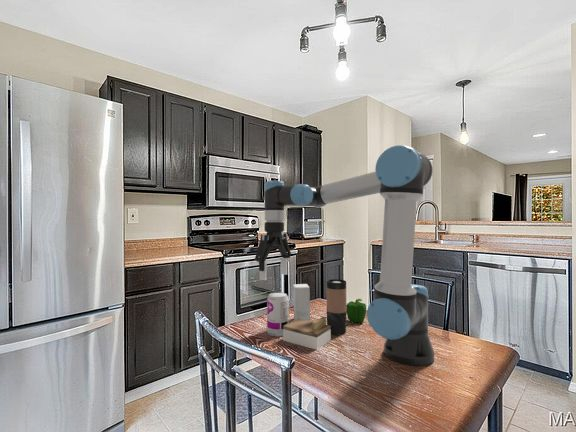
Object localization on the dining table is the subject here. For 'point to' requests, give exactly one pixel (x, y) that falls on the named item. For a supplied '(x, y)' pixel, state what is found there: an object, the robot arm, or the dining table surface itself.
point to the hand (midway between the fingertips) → (274, 277)
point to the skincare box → (301, 301)
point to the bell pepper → (356, 311)
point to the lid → (308, 326)
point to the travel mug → (336, 306)
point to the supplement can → (277, 313)
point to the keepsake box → (307, 338)
